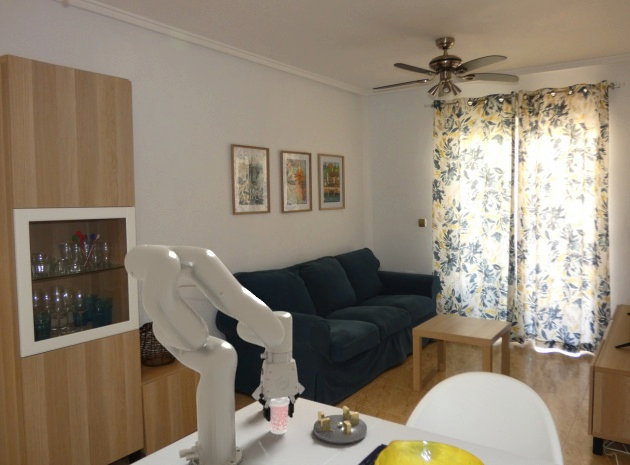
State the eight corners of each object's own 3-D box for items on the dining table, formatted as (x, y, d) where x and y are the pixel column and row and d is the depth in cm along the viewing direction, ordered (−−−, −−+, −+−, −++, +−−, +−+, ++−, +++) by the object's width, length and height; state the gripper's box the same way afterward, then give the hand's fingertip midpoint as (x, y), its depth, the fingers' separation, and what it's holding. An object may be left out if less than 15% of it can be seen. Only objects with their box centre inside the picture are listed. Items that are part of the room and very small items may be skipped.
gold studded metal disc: (376, 438, 140) (376, 422, 140) (326, 449, 134) (326, 432, 134) (351, 416, 154) (351, 401, 154) (305, 425, 148) (305, 410, 148)
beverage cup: (286, 436, 141) (286, 387, 141) (265, 434, 143) (265, 385, 142) (291, 426, 147) (292, 379, 146) (271, 424, 149) (271, 378, 148)
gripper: (253, 363, 137) (253, 428, 138) (312, 356, 143) (311, 418, 145) (245, 355, 144) (245, 417, 145) (302, 348, 150) (302, 408, 152)
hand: (278, 417), depth 145 cm, fingers closed on beverage cup, 6 cm apart
